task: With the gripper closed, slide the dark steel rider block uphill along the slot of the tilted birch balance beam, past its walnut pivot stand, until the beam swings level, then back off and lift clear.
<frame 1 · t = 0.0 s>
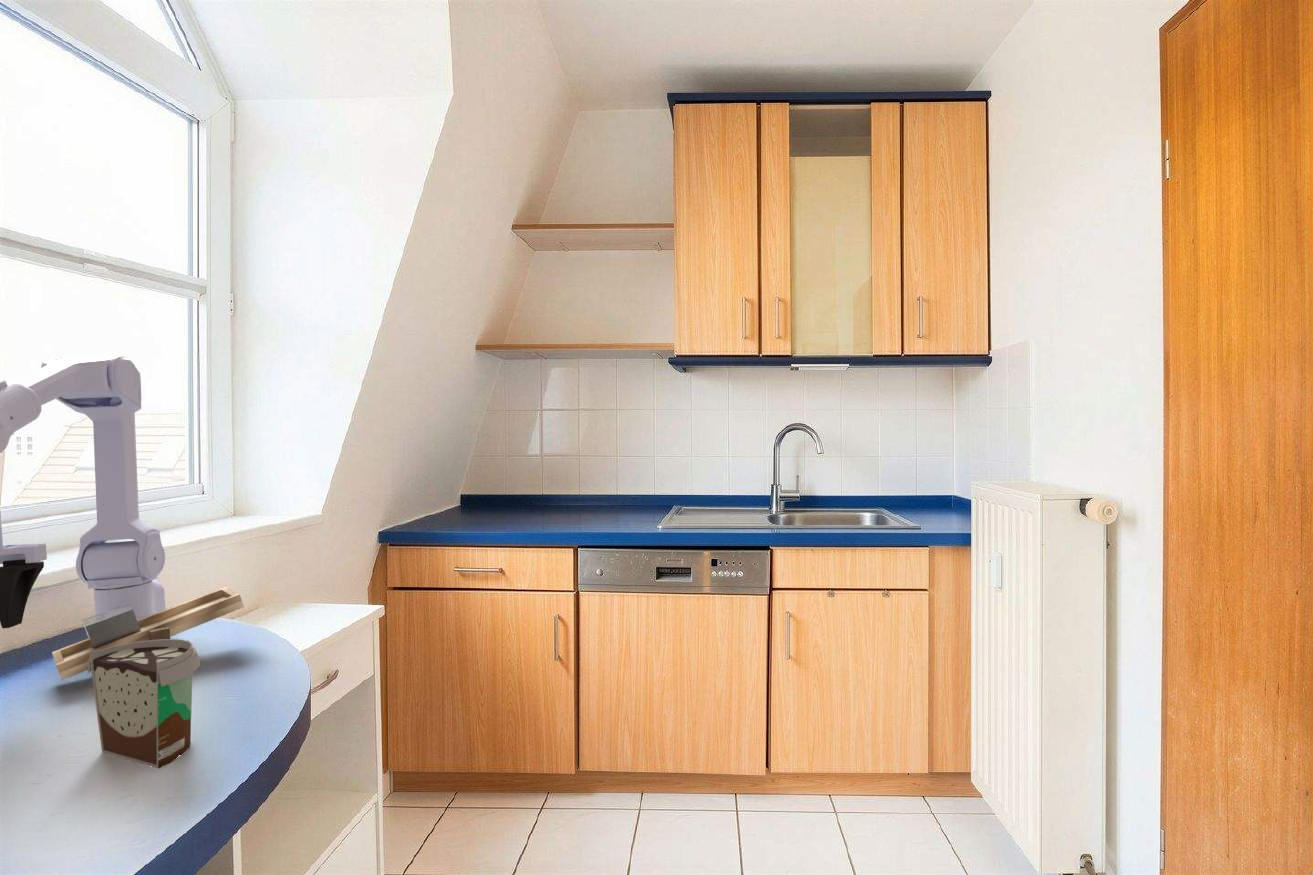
beam: (152, 630, 93), point 5 cm above the countertop, hinge at -12.8°, touching rider
food container: (163, 747, 68), on the countertop
stand: (156, 666, 93), on the countertop
rider: (117, 642, 90), point 4 cm above the countertop, tilted 13°, touching beam
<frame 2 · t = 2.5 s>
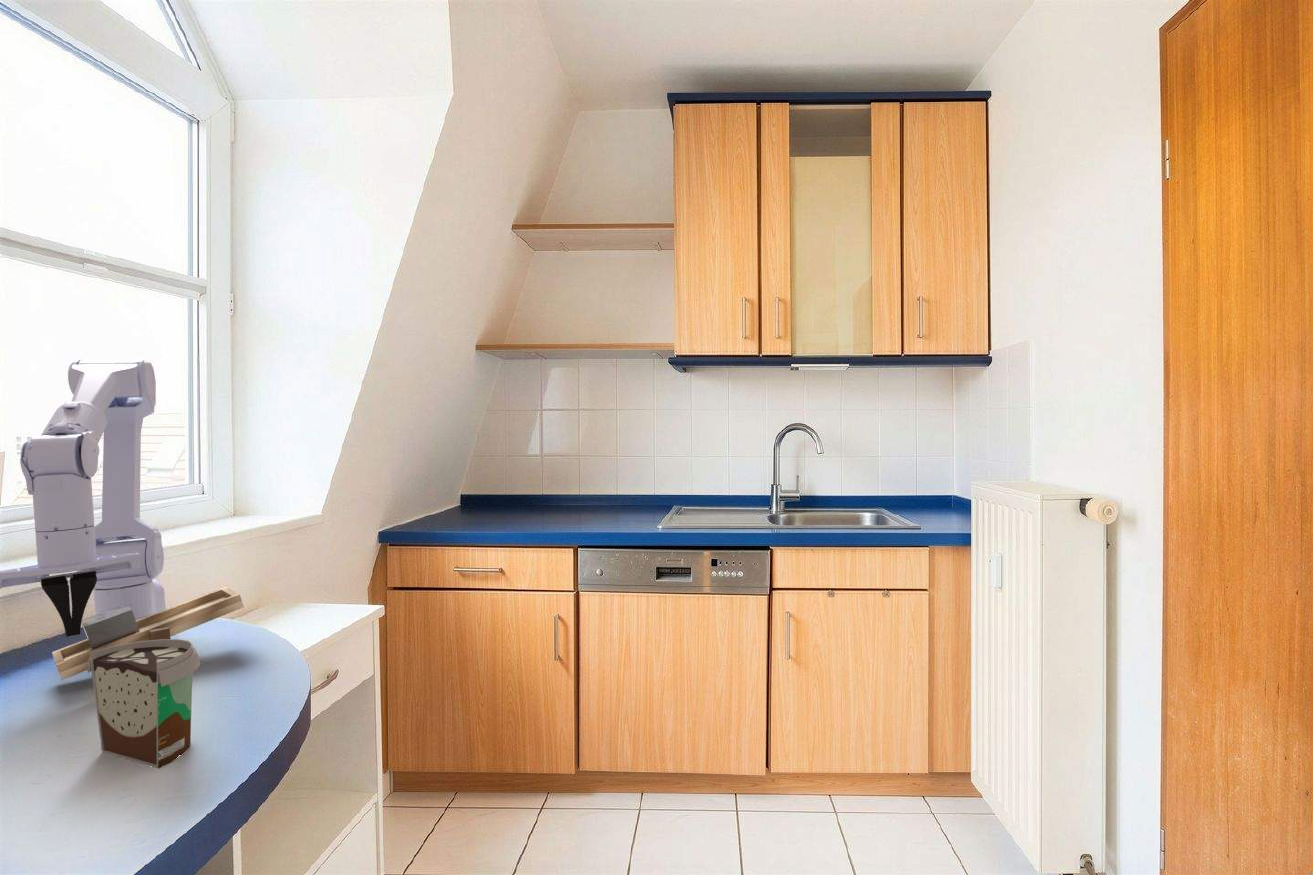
hand: (72, 634, 87), 7 cm above the countertop, tool pointing down, fingers closed
rider: (116, 642, 90), point 4 cm above the countertop, tilted 13°, touching beam, gripper
everything else where it was.
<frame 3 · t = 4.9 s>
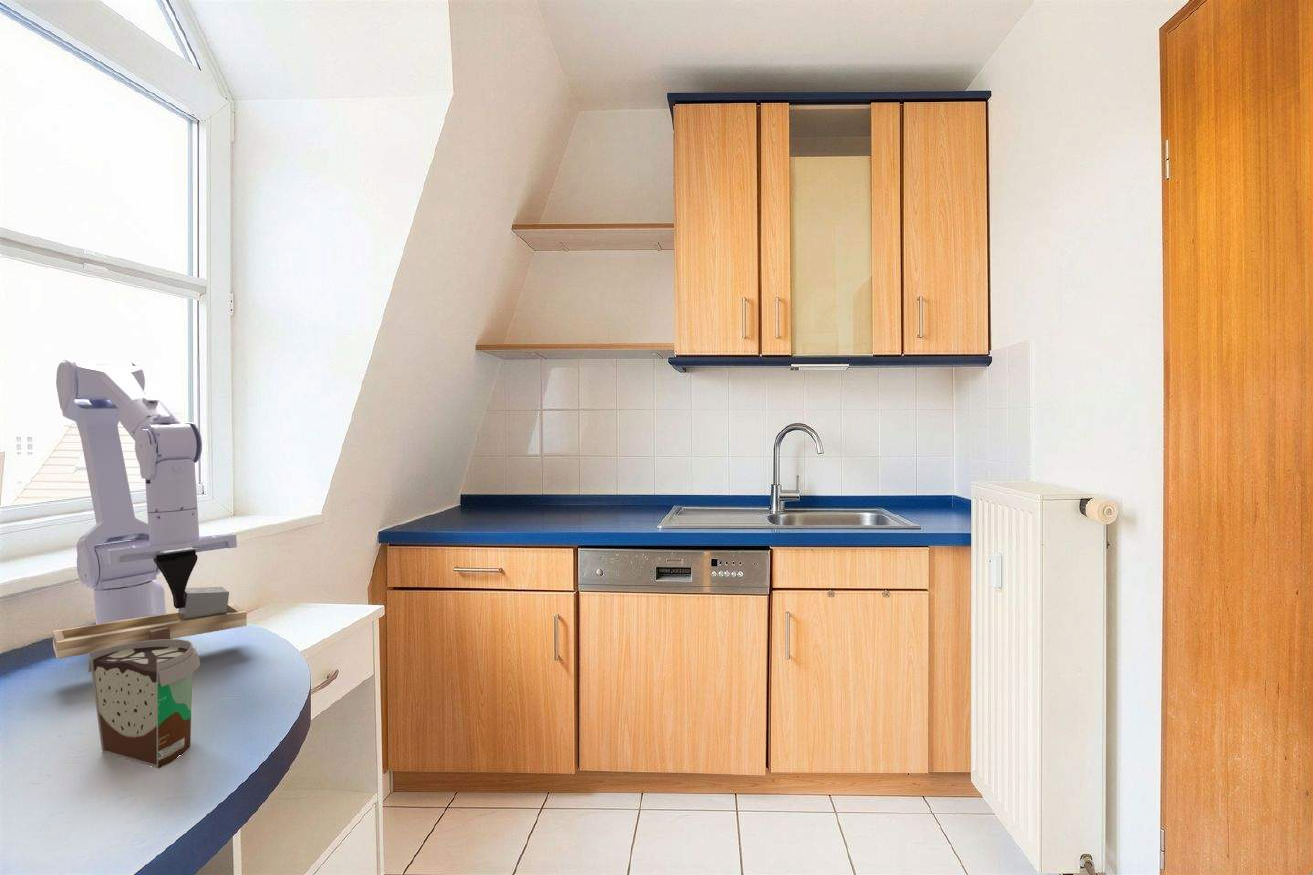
hand: (179, 606, 95), 8 cm above the countertop, tool pointing down, fingers closed, pressing on rider
beam: (154, 629, 93), point 5 cm above the countertop, hinge at 2.6°, touching rider
rider: (201, 618, 97), point 5 cm above the countertop, tilted 9°, touching beam, gripper
everything else where it was.
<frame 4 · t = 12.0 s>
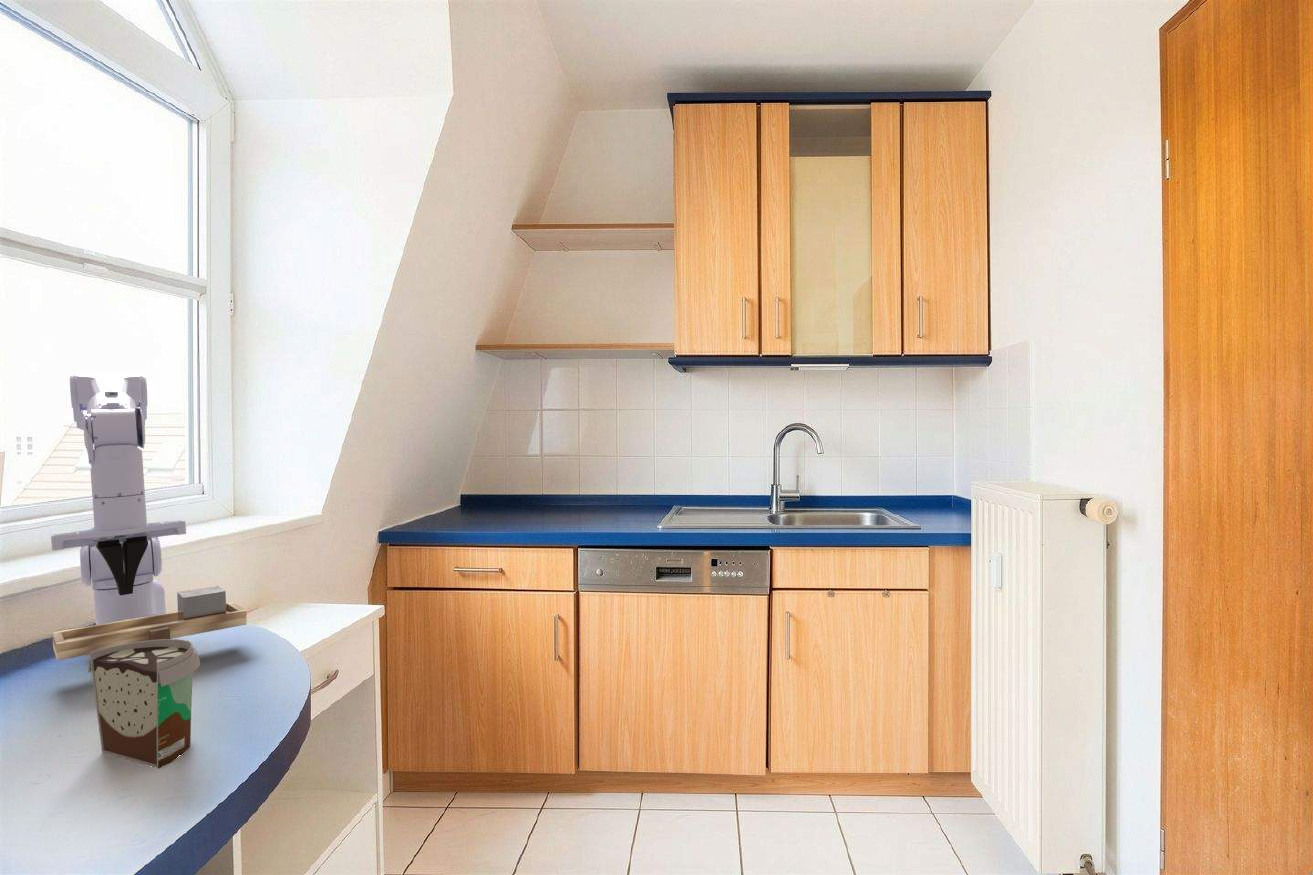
hand: (125, 593, 94), 10 cm above the countertop, tool pointing down, fingers closed
beam: (154, 629, 93), point 5 cm above the countertop, hinge at 1.5°, touching rider
rider: (202, 619, 97), point 5 cm above the countertop, touching beam
everything else where it was.
at the end: beam at +2° (first picture: -13°); rider 0.9 cm from the target spot on the beam, point 0.6 cm above the beam's base; rider moved 9.6 cm from its start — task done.
